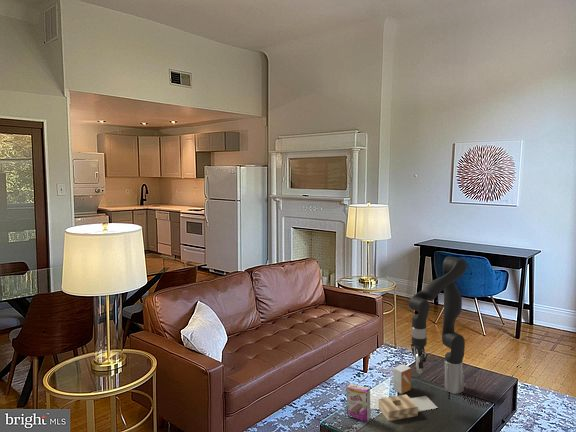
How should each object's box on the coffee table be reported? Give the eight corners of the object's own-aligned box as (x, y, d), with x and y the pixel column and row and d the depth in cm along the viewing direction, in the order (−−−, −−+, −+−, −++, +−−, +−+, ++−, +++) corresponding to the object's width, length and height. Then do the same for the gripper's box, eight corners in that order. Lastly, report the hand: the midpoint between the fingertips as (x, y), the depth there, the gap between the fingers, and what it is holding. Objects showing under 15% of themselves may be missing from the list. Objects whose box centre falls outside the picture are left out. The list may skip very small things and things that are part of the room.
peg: (420, 370, 228) (420, 352, 227) (423, 373, 225) (423, 355, 224) (414, 371, 228) (414, 353, 226) (417, 374, 225) (417, 355, 223)
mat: (425, 396, 236) (425, 395, 236) (437, 408, 225) (437, 407, 225) (405, 399, 234) (405, 399, 234) (416, 412, 222) (416, 411, 222)
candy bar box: (346, 417, 221) (345, 386, 219) (350, 411, 225) (349, 382, 223) (367, 423, 215) (366, 392, 213) (371, 417, 219) (370, 387, 217)
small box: (401, 394, 240) (401, 372, 238) (393, 389, 245) (392, 367, 243) (411, 389, 244) (411, 367, 242) (402, 385, 249) (402, 363, 248)
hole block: (406, 403, 231) (406, 394, 230) (417, 415, 219) (417, 406, 219) (378, 407, 228) (378, 399, 227) (388, 421, 216) (388, 411, 215)
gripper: (432, 339, 218) (432, 372, 220) (418, 329, 231) (418, 360, 234) (419, 341, 216) (419, 374, 219) (405, 331, 230) (406, 361, 232)
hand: (419, 366), depth 226 cm, fingers closed on peg, 3 cm apart
